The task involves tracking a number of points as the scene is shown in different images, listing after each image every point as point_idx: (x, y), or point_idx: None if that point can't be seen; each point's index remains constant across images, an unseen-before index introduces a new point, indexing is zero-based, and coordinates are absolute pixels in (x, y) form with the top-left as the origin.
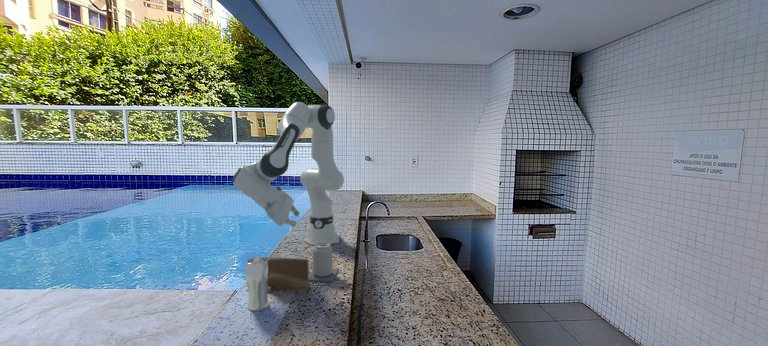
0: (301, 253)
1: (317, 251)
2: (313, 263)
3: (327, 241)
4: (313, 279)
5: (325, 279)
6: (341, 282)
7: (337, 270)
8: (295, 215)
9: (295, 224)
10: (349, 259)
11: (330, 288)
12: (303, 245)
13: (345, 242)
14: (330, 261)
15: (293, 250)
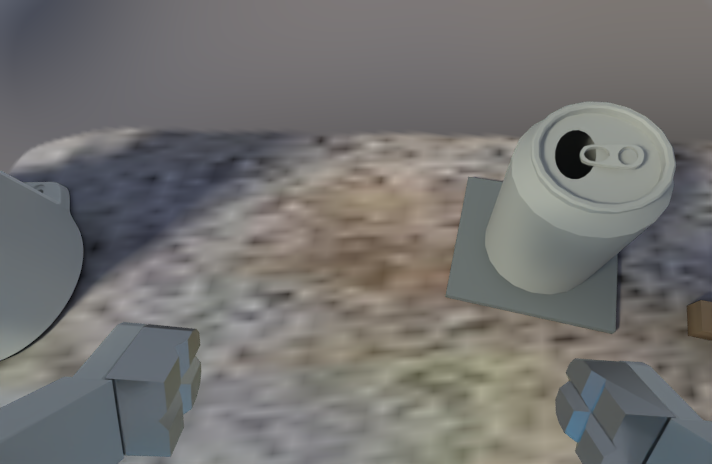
0: None
1: (670, 198)
2: (596, 268)
3: (61, 235)
4: (613, 290)
5: None
6: None
7: (485, 180)
8: (184, 412)
9: (643, 374)
10: (324, 137)
11: (690, 208)
12: (19, 391)
13: (74, 157)
14: (590, 165)
15: None
